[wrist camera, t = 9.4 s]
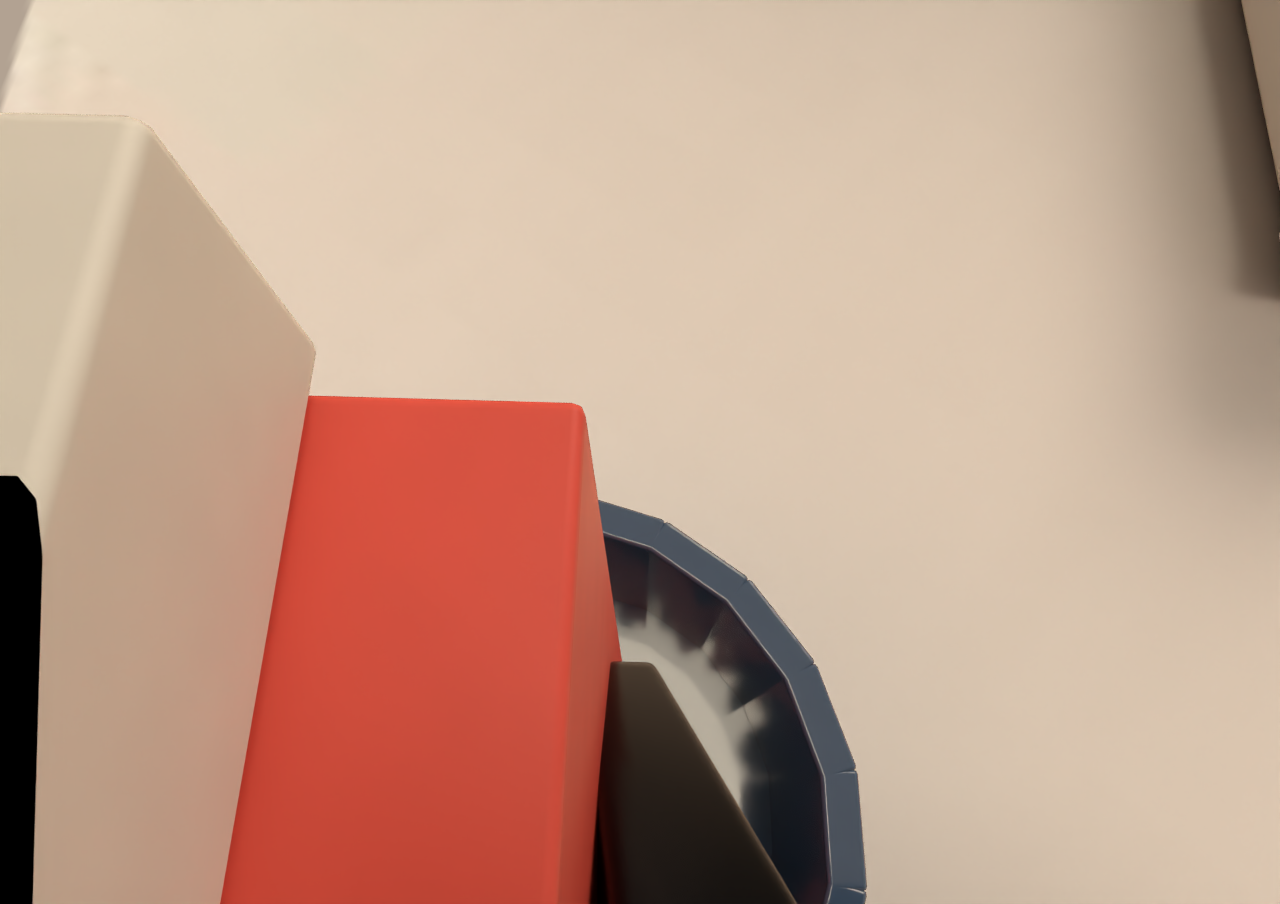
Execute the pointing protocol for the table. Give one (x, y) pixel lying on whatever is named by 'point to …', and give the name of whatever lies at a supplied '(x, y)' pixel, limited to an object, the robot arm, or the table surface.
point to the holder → (743, 699)
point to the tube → (1267, 64)
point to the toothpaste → (268, 582)
